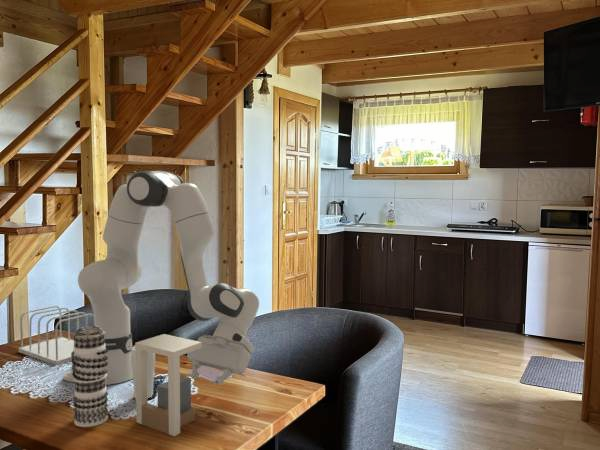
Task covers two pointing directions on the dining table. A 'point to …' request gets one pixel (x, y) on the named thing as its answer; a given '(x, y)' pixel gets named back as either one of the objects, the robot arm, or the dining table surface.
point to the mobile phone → (209, 373)
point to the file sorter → (55, 348)
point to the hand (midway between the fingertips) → (205, 380)
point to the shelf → (173, 349)
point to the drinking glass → (149, 371)
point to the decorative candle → (89, 376)
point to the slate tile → (184, 395)
